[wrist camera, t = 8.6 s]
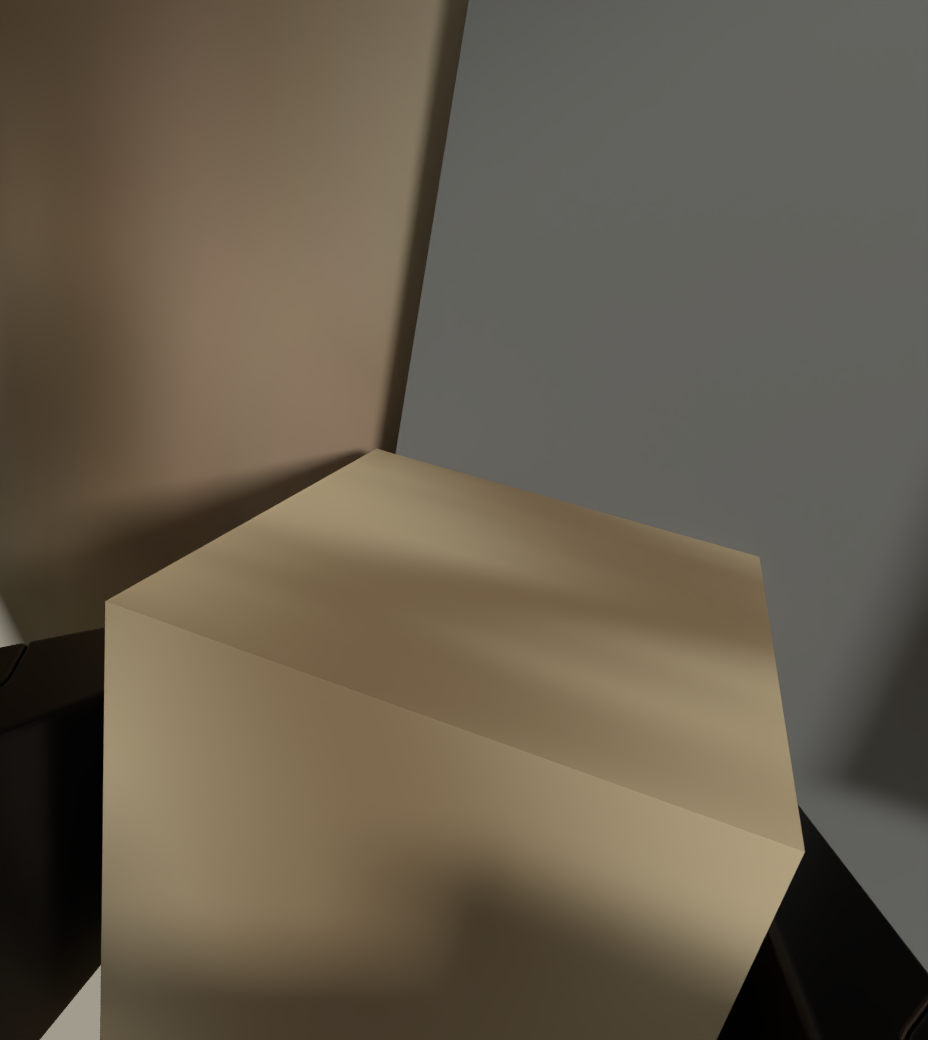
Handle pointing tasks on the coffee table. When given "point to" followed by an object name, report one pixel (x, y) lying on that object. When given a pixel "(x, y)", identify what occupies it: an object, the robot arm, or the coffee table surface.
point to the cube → (440, 773)
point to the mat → (714, 338)
